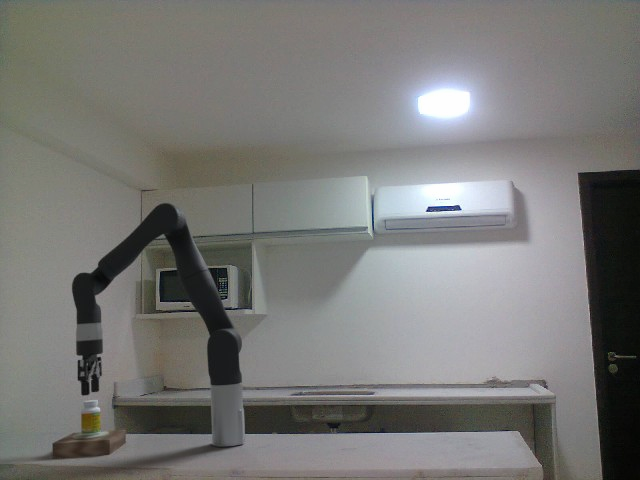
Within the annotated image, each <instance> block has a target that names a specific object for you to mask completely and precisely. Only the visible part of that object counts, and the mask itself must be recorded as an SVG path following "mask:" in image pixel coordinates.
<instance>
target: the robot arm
mask: <svg viewBox="0 0 640 480" xmlns="http://www.w3.org/2000/svg"><path fill="white" fill-rule="evenodd" d="M162 235H163V236H164V237H165V239H166V240H167V243H168V244H169V246H170V248H171V250H172V253H173V256H174V261H175V269H176V272H177V276H178V280H179V281H180V285H181V287H182V289H183V291H184V293H185V295H186V297H187V299H188V300H189V302H190V303H191V305H192V306H193V307H194V309H195V311H196V312H197V313H198V314H199V316H200V317H201V319H202V321H203V323H204V324H205V326H206V329H207V332H208V335H209V337H208V340H207V342H206V344H207V345H206V352H207V353H206V354H207V355H206V356H207V370H208V371H207V373H208V376H209V380H210V412H211V441H212V446H214V447H233V446H234V447H235V446H238V445H244V443H245V442H246V432H245V431H246V430H245V429H246V428H245V427H246V426H245V409H244V405H243V404H244V402H243V401H244V399H243V375H242V372H241V369H240V368H241V367H240V353H241V350H242V348H243V342H242V341H243V340H242V338H241V335H240V333H239V332H238V330H237V329H236V327H235V325H234V323H233V322H232V320H231V318H230V317H229V315H228V313H227V311H226V309H225V306H224V303H223V301H222V297H221V295H220V292H219V291H218V288H217V285H216V282H215V280H214V278H213V276H212V274H211V271H210V269H209V268H208V265H207V263H206V262H205V260H204V257H203V255H202V254H201V252H200V250H199V249H198V246H197V245H196V243H195V240H194V238H193V234H192V232H191V229H190V226H189V223H188V220H187V217H186V215H185V212H184V211H183V210H182V209H181V208H179V207H178V206H176V205H175V204H173V203H169V202H163V203H162V202H161V203H159V204H158V205H156V206H155V207H154V208H153V209H152V210H151V211H150V212H149V213H148V215H147V216H146V217H145V218H144V219H143V221H141V223H140V224H139V225H138V226H137V227H136V228H135V229H134V230H132V232H131V233H130V234H129V235H127V237H125V239H123V240H122V241H121V242H119V244H117V246H115V247H113V248H112V250H110V251H109V252H107V254H105V255H104V256H103V257H102V258H101V259H100V260H99V261H98V263H97V267H96V268H95V269H94V270H93V271H91V272H79V273H77V274H76V275H75V276H74V278H73V280H72V284H71V293H72V298H73V302H74V305H75V306H74V307H75V309H76V330H75V351H76V353H75V354H76V356H79V357H80V356H81V359H78V360H77V381H78V382H80V388H81V389H80V391H81V396H89V395H90V393H98V392H100V379H101V377H102V376H103V371H102V369H103V367H102V365H103V364H102V357H101V356H98V355H102V354H103V353H104V349H103V347H104V345H103V344H104V342H103V339H104V338H103V327H102V326H103V325H102V308H101V305H99V304H98V303H97V300H96V296H97V295H98V296H99V295H100V294H101V293H102V292H104V290H106V288H108V287H109V286H110V284H111V283H112V282H113V281H114V279H115V278H116V277H118V276H119V275H120V274H122V273H123V272H124V271H125V270H126V269H127V268H128V267H130V266H131V265H132V264H133V263H134V262H135V261H136V260H137V258H139V256H140V254H141V253H142V252H143V251H144V249H145V248H146V247H147V246H149V244H151V243H152V242H153V241H154V240H156V239H158V238H159V237H160V236H162Z"/></svg>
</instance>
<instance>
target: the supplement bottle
mask: <svg viewBox="0 0 640 480" xmlns="http://www.w3.org/2000/svg"><path fill="white" fill-rule="evenodd" d="M98 404H99V400H98V399H90V400H84V401H83V407H84V408H82V410H81V411H80V413H81V416H80V417H81V418H80V419H81V420H80V421H81V423H80V425H81V426H80V427H81V429H80V430H81V434H82V435H83V436H90V435H97V434H100V433H101V431H102V430H101V429H102V428H101V425H102V424H101V422H102V421H101V419H102V418H101V416H102V415H101V408H100V407H98V406H99V405H98Z"/></svg>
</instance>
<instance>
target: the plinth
mask: <svg viewBox="0 0 640 480" xmlns="http://www.w3.org/2000/svg"><path fill="white" fill-rule="evenodd" d="M126 437H127V431H126V429H115V430H101V433H100V434H97V435H90V436H83V435H82V434H81V432H72V433H71V434H68V435H67V436H65V437H63V438H61V439H58V440H57V441H54V442H53V443H52V449H51V450H52V459H55V458H56V459H57V457H61V458H75V457H89V456H91V457H92V456H105V455H106V456H107V455H111V454H112V453H113V452H115V451H116V450H118V449H120V448H121V447H122V446H124V445H125V444H126V443H127V441H126V440H127V438H126ZM123 444H124V445H123Z"/></svg>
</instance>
